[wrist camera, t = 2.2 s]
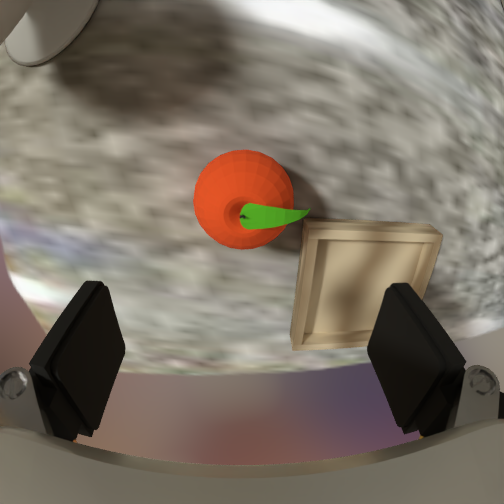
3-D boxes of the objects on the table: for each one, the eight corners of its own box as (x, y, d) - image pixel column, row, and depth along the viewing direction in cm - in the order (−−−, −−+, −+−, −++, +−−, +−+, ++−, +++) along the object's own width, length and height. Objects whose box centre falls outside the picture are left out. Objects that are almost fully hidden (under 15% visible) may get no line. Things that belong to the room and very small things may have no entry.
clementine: (304, 148, 22) (327, 164, 16) (295, 229, 25) (311, 272, 19) (201, 142, 22) (182, 156, 15) (200, 225, 25) (185, 267, 18)
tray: (429, 224, 25) (443, 234, 23) (397, 327, 31) (404, 341, 29) (303, 217, 25) (309, 229, 22) (289, 334, 31) (292, 350, 28)
